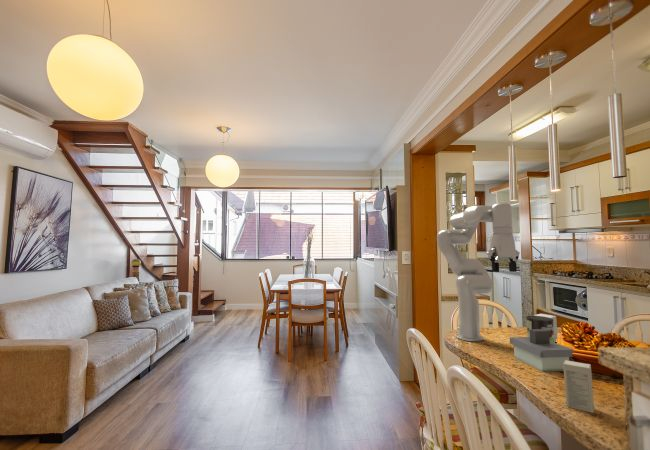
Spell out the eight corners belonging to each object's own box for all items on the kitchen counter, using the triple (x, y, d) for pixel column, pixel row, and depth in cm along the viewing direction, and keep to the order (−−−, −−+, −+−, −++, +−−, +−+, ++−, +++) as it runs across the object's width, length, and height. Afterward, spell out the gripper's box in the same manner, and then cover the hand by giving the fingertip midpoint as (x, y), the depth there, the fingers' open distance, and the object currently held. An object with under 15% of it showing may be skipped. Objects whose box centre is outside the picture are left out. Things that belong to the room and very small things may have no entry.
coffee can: (560, 352, 142) (559, 319, 142) (542, 354, 139) (540, 321, 140) (539, 345, 151) (538, 314, 152) (521, 347, 149) (520, 316, 150)
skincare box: (594, 408, 93) (592, 364, 94) (593, 414, 90) (591, 368, 90) (566, 400, 97) (564, 359, 98) (564, 406, 94) (563, 362, 95)
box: (514, 357, 135) (513, 340, 135) (538, 356, 136) (538, 339, 136) (542, 371, 120) (541, 352, 120) (569, 370, 121) (568, 351, 121)
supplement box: (541, 338, 162) (540, 313, 163) (558, 342, 156) (557, 316, 157) (533, 341, 159) (532, 314, 159) (550, 345, 152) (549, 317, 153)
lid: (510, 343, 136) (509, 325, 136) (538, 342, 137) (538, 324, 138) (541, 357, 119) (540, 336, 119) (573, 356, 120) (572, 335, 121)
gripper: (510, 232, 147) (511, 271, 145) (480, 232, 141) (481, 271, 139) (525, 231, 140) (527, 271, 138) (494, 230, 134) (496, 272, 132)
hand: (504, 271), depth 139 cm, fingers open, 9 cm apart
